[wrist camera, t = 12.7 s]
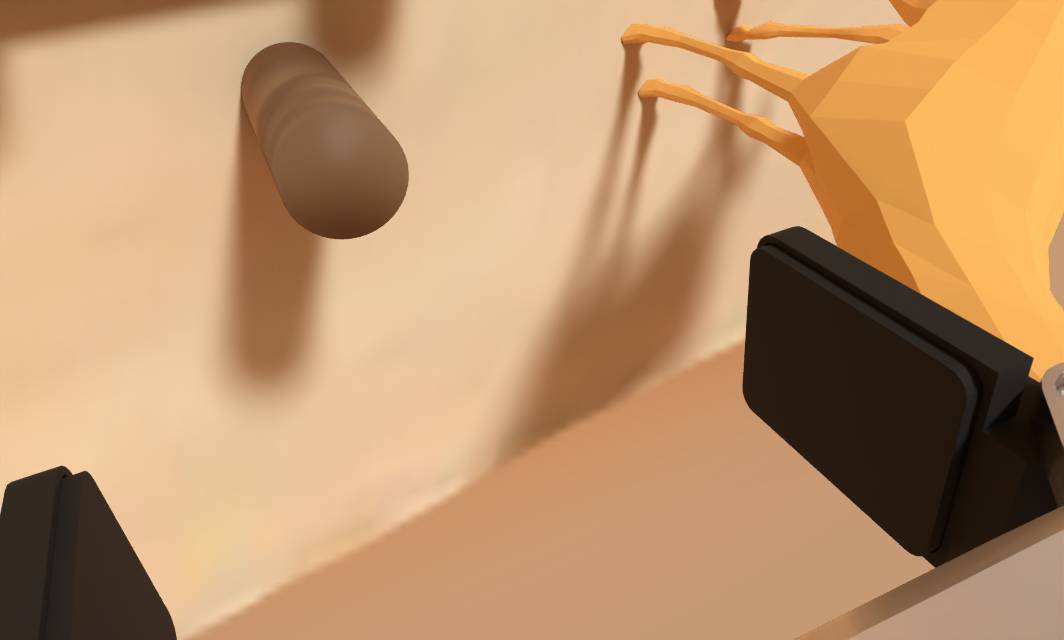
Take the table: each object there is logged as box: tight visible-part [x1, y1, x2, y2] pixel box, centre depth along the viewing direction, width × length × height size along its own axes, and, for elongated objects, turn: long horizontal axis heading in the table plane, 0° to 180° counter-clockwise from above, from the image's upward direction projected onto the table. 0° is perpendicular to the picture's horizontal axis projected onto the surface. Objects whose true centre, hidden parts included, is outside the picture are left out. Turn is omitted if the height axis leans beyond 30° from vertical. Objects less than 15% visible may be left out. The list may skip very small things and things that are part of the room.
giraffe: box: [622, 0, 1064, 382], centre depth 19 cm, size 16×4×25 cm, turn 114°
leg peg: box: [241, 42, 409, 239], centre depth 21 cm, size 3×3×8 cm
